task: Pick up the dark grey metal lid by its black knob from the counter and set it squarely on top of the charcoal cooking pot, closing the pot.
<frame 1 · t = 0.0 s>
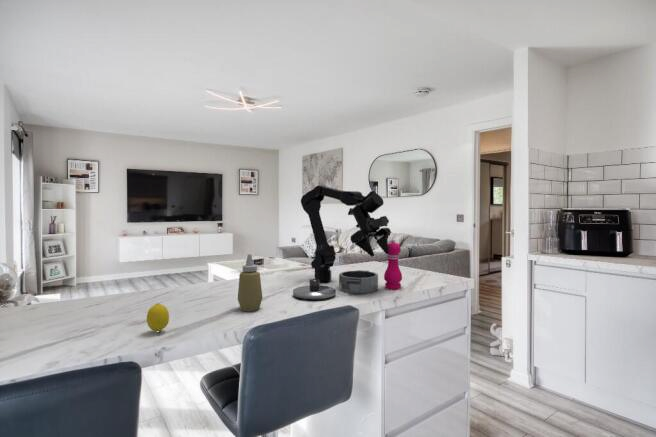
hand: (380, 254, 141), 15 cm above the countertop, tool tilted 35°, fingers open, 9 cm apart
lid: (314, 296, 140), on the countertop
pot: (358, 289, 150), on the countertop
squeeze bottle: (250, 309, 123), on the countertop
pepper mill: (393, 288, 152), on the countertop
lemon: (158, 333, 102), on the countertop
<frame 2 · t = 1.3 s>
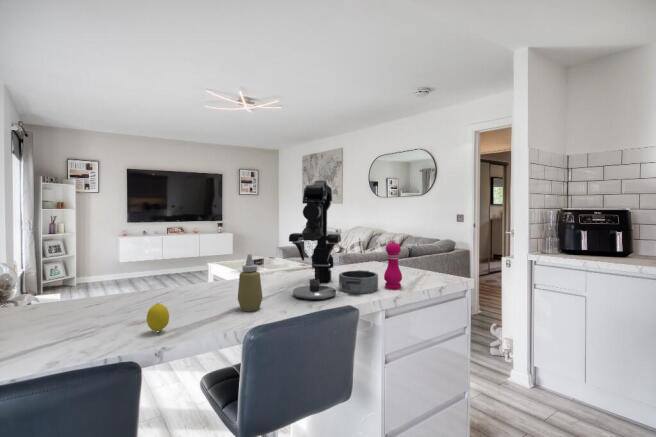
hand: (315, 261, 139), 13 cm above the countertop, tool pointing down, fingers open, 9 cm apart
nothing on the countertop moved.
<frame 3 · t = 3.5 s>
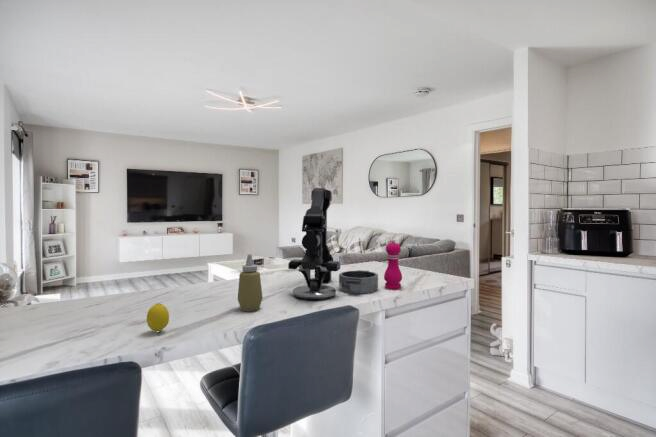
hand: (314, 288, 140), 3 cm above the countertop, tool pointing down, fingers closed on lid, 4 cm apart
lid: (314, 295, 140), on the countertop, touching gripper
everything else where it was.
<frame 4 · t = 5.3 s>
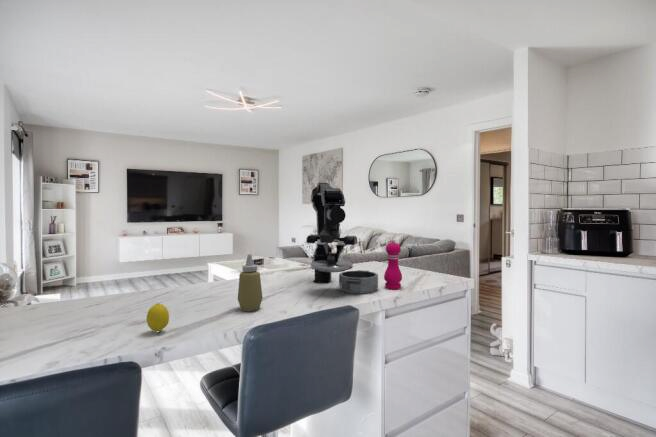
hand: (331, 262, 143), 12 cm above the countertop, tool pointing down, fingers closed on lid, 4 cm apart
lid: (331, 269, 143), point 9 cm above the countertop, touching gripper
everything else where it was.
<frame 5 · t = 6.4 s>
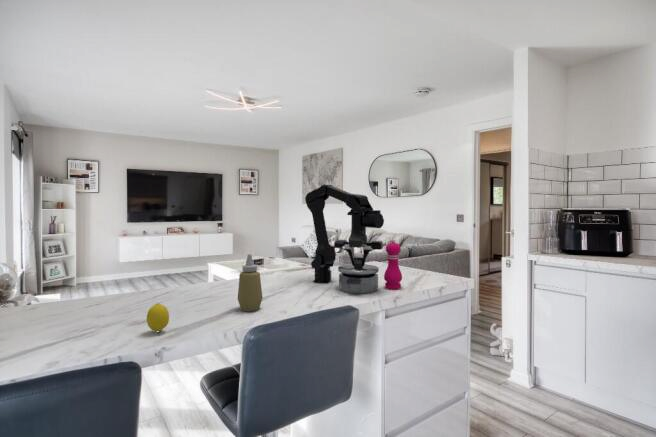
hand: (358, 266, 149), 9 cm above the countertop, tool pointing down, fingers closed on lid, 4 cm apart
lid: (358, 273, 149), point 7 cm above the countertop, touching gripper
everything else where it was.
when the fingers open (9 cm above the countertop, at t = 7.1 s): lid drops 1 cm, resting on pot.
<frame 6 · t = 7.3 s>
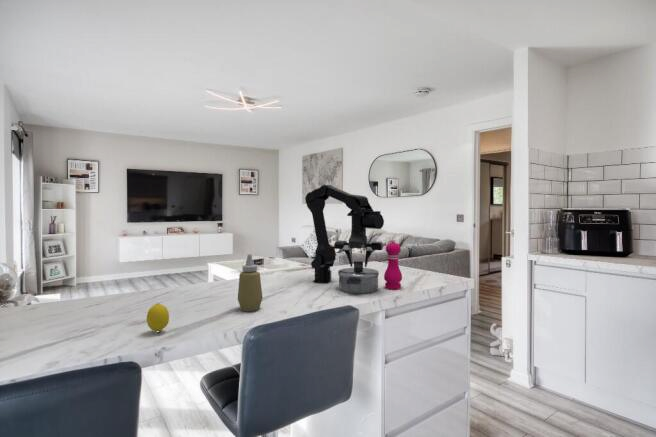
hand: (358, 266, 149), 9 cm above the countertop, tool pointing down, fingers open, 5 cm apart
lid: (358, 276, 149), point 5 cm above the countertop, touching pot
everything else where it was.
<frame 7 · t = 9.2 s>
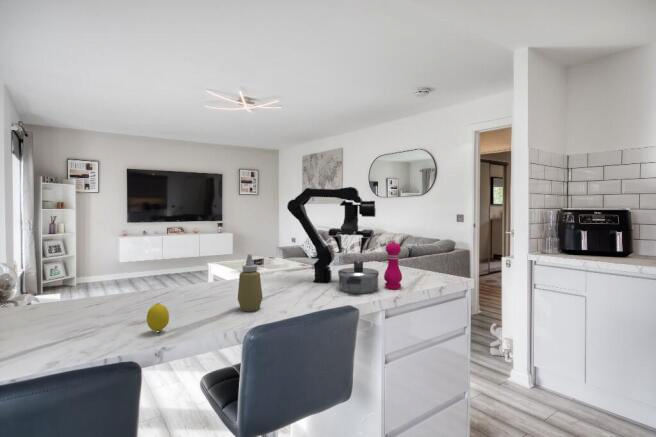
hand: (350, 252, 161), 13 cm above the countertop, tool pointing down, fingers open, 9 cm apart
nothing on the countertop moved.
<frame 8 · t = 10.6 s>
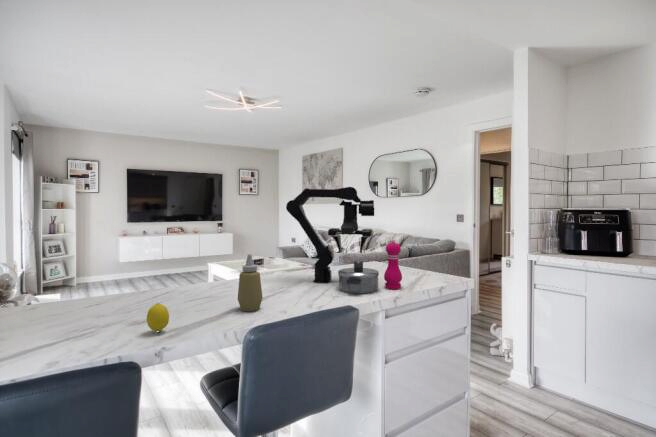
hand: (350, 252, 162), 13 cm above the countertop, tool pointing down, fingers open, 9 cm apart
nothing on the countertop moved.
at the end: lid 0.1 cm off-centre on the pot, point 5.0 cm above the pot's base; lid tilted 0°; the gripper is holding nothing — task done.
